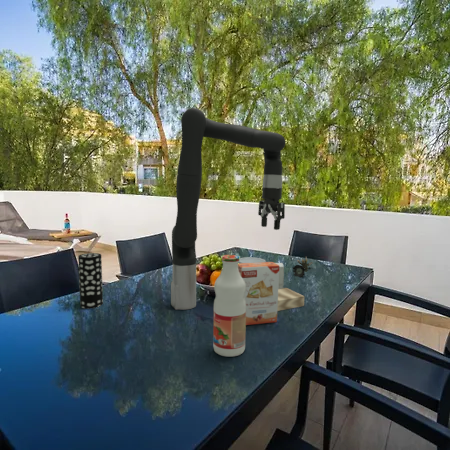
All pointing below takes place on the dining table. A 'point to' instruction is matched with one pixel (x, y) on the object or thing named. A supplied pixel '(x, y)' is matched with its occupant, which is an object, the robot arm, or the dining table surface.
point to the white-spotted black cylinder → (90, 280)
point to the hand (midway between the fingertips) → (270, 228)
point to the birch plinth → (289, 299)
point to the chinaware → (251, 260)
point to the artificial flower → (301, 268)
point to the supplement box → (281, 275)
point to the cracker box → (260, 291)
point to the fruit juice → (229, 309)
